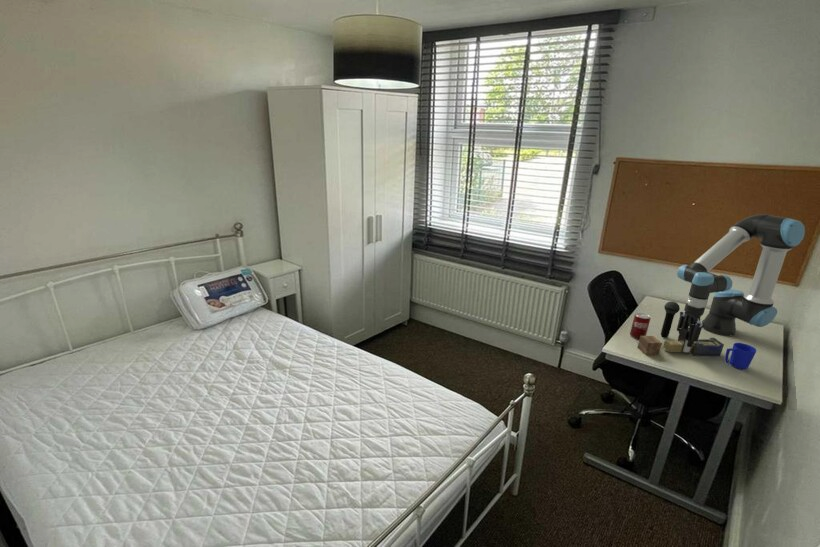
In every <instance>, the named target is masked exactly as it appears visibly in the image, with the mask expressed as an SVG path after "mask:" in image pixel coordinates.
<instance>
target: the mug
mask: <svg viewBox="0 0 820 547" xmlns="http://www.w3.org/2000/svg"><path fill="white" fill-rule="evenodd" d="M725 351H726V352H725V356H724V361H725V363H726V364H728V365H730V366H732V367H734V368H735V369H739V370H747V369H748V368H750V365H751V364H752V361H753V359H754V357H755V354H756V353H757V349H756V347H754V346H752V345H749V344H746V343H742V342H735V343H733V346H732V347H730V348H726V350H725ZM729 355H730V356H729ZM729 357H730V359H729Z"/></svg>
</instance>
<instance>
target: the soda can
mask: <svg viewBox="0 0 820 547" xmlns="http://www.w3.org/2000/svg"><path fill="white" fill-rule="evenodd" d="M650 323H651V316H650V315H648V314H647V313H643V312H637V313H634V316H633V318H632V325H631V328H630V331H629V335H630V336H631V337H632V338H633V339H637V340H639V339H640V336H647V334H648V330H649V327H650Z"/></svg>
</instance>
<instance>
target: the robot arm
mask: <svg viewBox="0 0 820 547" xmlns="http://www.w3.org/2000/svg"><path fill="white" fill-rule="evenodd" d="M805 234H806V228H805V225H804V224H803V222H802V221H800V220H797V219H794V218H789V217H784V216H778V215H777V216H776V215H771V214H765V213H760V214H754V215H751V216H748V217H745V218H743V219H742V220H741V219H740V220H739V221H737V222H736V223H734V225H732V226H731V227H730V228H729V230H728V232H727V233H726V234H725V235H724V236H722V238H721V239H719V240H717V242H716V243H714V245H711V247H710V248H709V249H708V250H706V252H704V253H702V255H701V256H700V257H698V258H697V259H696V260H695V261H694V262H692V263H690V265H689V264H683V265H682V264H681V265H680V266H679V268H678V270H677V271H676V273H677V274H676V275H677V277H678V278H679V279H680V280H682V281H684V282H687V283H689V284H691V286H690V289H689V292H688V296H687V299H686V303H685V306H684V308H683V311H679V319H678V322H677V326H676V332H678V337H677V339H678V338H679V335H680V331H681V328H682V327H683V328H689V333H688V339H686V342H685V345H684V348H683V352H682V353H689V351H690V348H691V346H692V344H693V341H698V339H700V338H699V337H700V335H701V331H702V329H704V330H706V331H707V332H710V333H712V334H715V335H719V336H726V337H729V336H730V335H732V336H734V335H735V334H736V332H737V327H736V320H737V319H738V320H740V321H742V322H744V323H747V324H749V325H751V326H755V327H758V328H764V327H766V326H767V325H769V324H770V323H772V322H773V320H774V319H775V318H776V316H777V314H778V310H777V307H775V306H774V303H775V301H774V299H773V298H772V296H773V293H774V291H775V288H776V285H777V282H778V279H779V276H780V272H781V270H782V267H783V264H784V261H785V258H786V256H787V252H788V251H791V250H793V248H794V247H797V246H798V245H800V244H801V241H803V239H804V237H805ZM755 238H756V239H760V246H761V247H762V250H761V252H760V253H761V254H760V256H759V259H758V263H757V266H756V270H755V272H754V275H753V279H752V283H751V285H750V288H749V291H748V293H746V294H745V293H744V292H743V291H741V290H739V289H732V287H733V279H731V277H730V276H728V275H725V274H720V275H717V274H715V273H712V272H710V271H711V270H712V269H713V268H714V267H715V266H718V264H719V263H721V261H723V260H724V259H725V258H726V257H727V256H729V255H730V254H731V253H733V251H734V250H736V249H737V248H739V246H741V245H742V244H743V243H745V242H749V241H750V240H751V239H755ZM712 293H713V294H714V295H713V298H712V301H711V305H710V307H709V311H708V313H707V315H706V316H705V318H704V319H703V320H702V321H701V317H702V316H703V315H704V313H705V310H706V307H707V304H708V300H709V297H710V294H712Z"/></svg>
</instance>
